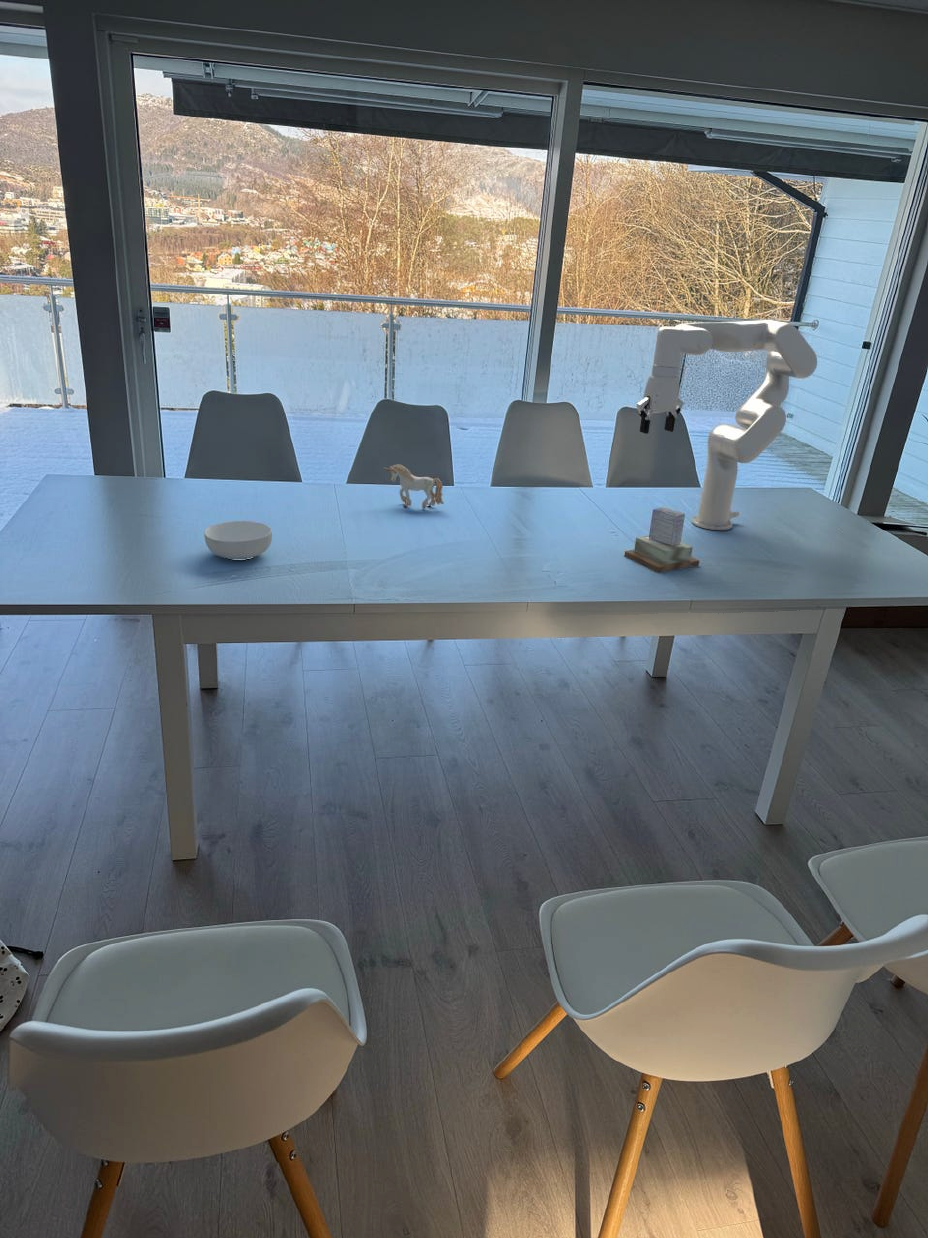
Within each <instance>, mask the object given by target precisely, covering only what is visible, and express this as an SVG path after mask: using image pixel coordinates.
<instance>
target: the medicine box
mask: <svg viewBox="0 0 928 1238" xmlns="http://www.w3.org/2000/svg"><path fill="white" fill-rule="evenodd" d="M651 513H652V514H651V521H650V526H649V527H650V529H649V535H648V536H649V539H652V540H655V541H658V542H661V543H664V544H667V545H670V546H674V545H677V544H680V543H681V542H682V537H683V530H684V522H685V517H686V514H685V513H684V512H683V513H682V512H680V511H677V510H675V509H674V510H673V509H671V508H667V507H664V506H660V507H656V508H653V509H652V512H651Z"/></svg>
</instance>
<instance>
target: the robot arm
mask: <svg viewBox="0 0 928 1238" xmlns="http://www.w3.org/2000/svg"><path fill="white" fill-rule="evenodd" d="M656 334H657V335H656V341H655V349H654V356H653V362H652V369H651V375H649V376H648V379H647V382H646V384H645V388H644V391H643V392H644V393H643V397H642V399H641V401H639V402H638V403H637V404H636V409H637V414H638V415H639V418H640V427H639V432H640V433H642V434H646V435H647V434H649V432H650V426H651V420H650V418H651V417H652V415H653V414H661V413H662V414H663V413H667V416H666V417H665V422H664V423H665V424H664V430H665V431H667V432H670V433H672V432H674V428H675V423H676V419H677V418H678V415H679V414H680V413H681V411H682V409H683V406H684V404H685V402H684V401H683V400H681V399H680V398H679V394H680V378H679V375H680V374H679V373H681V370H682V369H681V363H682V356H683V354H684V355H685V354H686V355H691V356H703V355H705V354H707V353H708V352H709V351H710V350H712V351H717V352H724V353H743V352H754V351H755V352H756V351H768V353H767V355H766V358H765V373H764V374H765V375H764V379H763V381H762V383H761V384H760V385H759V387H758V388H757V389H756V390H755V391H754V392H753V393H752V394H751V395H750V396H749V397H748V398H747V399H746V400H745V402H743V403H742V404H741V406H740V407H739V408H738V409H737V411H736V414H735V417H734V418H735V421H736V425H733V424H729V423H721V424H718V425H716V426H715V427H713V429H711V431H710V432H709V434H708V437H707V458H706V461H707V462H706V468H705V473H704V479H703V484H702V490H701V497H700V502H699V507H698V514H697V515H695V516H693V517H692V518H691V522H692V524H694V525H695V526H697V527H700V528H703V529H707V530H712V531H727V530H730V529H732V528H733V522H732V521H731V519H733V518H737V517H740V512H739V511H738V510H736V511H735V510H734V511H732V510H731V508H732V504H733V499H734V492H735V488H736V482H737V477H738V473H739V472H738V471H739V468H738V466H739V465H738V463H740V464H749V463H751V462H754V460H755V459H757V458H758V457H759V456H760V455H761V454H762V453H764V451H765V450H766V449H767V448H768V447H769V446H771V444H772V443H773V442H774V441H775V440H776V439H777V438H778V437H779V435H780V434H781V433H782V431H783V430H784V427H785V426H786V422H787V415H786V411H785V410H784V409H783V408H782V407H781V405H782V404H783V402H785V400H786V398H787V396H788V394H789V390H790V388H789V387H790V377H791V378H796V379H805V378H809V377H811V376H812V375H813V374H814V372H815V371H816V370H817V366H818V357H817V355H816V352H815V351H814V349H813V348H812V347H811V345H810V344H809V343H808V341H807V340H806V338H805V337H804V336H803V334H802V333H801V332H800V331H799V330H798V329H797V328H796V327H795V326H794V325H793V324H792V323H789V322H784V321H779V320H773V319H758V320H757V319H756V320H745V321H743V320H742V321H719V322H717V321H716V322H714V321H713V322H709V321H708V322H705V321H704V322H688V323H686V322H685V323H679V324H677V325H675V326H672V325H667V326H666V325H665V326H661V327H659V328H658V330H657V333H656ZM737 425H738V426H739V427H738V426H737Z"/></svg>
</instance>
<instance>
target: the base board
mask: <svg viewBox="0 0 928 1238" xmlns="http://www.w3.org/2000/svg"><path fill="white" fill-rule="evenodd" d="M693 549H694V547H693V546H692V545H690V544H687V543H686V542H682V541H681V543H680V544H677V545H674V546H670V545H667V544H664V543H661V542H658V541H655V540H652V539H649V535H644V536H638V537H636V538H635V543H634V549H629V550H624V557H626V558H627V559H628V560H629V559H630V560H632V561H633V562H636V563H638V564H639V565H641V566H643V567H645V568H648V569H649V570H652V571H654V572H655V573H658V574H660V573H666V572H670V571H671V570H672V571H675V570H682V568H683V569H687V568H686V567H688V568H692V567H691V566H694V567H699V566H698V565H700V559H698V558H695V557H693V556H692V552H693Z"/></svg>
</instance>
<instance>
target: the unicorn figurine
mask: <svg viewBox="0 0 928 1238" xmlns="http://www.w3.org/2000/svg"><path fill="white" fill-rule="evenodd" d="M383 469H384V470H387V471H388V472H390V474H391V478H390V480H391V481H392V482H393V483H395V482H396V481H397V477H399V479H400V480H399V482H400V483H399V485H400V487H401V489H400V490H399V496H400V500H401V501H402V503H403V502H405V504H404V503H403V507H404V506H408V507H410V506H411V507H412V499H410V493H409V491H413V492H418V491H423V492H424V493H425V495H426V498H425V499H424V500H423V501H422V503H421V507H422V508H424V509H426V507H427V505H429V506H431V505H432V506H431V507H434V506H435V505H436V504H437V505H444V504H445V502H444V501H443V499H442V498H443V497H442V496H443V483H442V481H441V480H440V479H439V478H438V477H436V478H432V477H429V476H420V477H419V476H415V475H414V474H412V472H411V471H410V470H409V469H408V468H407V467H405V466H403V465H402V464H400V463H399V464H394V465H392V466H391V465H389V468H388V467H383ZM434 488H435V491H434ZM429 501H430V502H429Z"/></svg>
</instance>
